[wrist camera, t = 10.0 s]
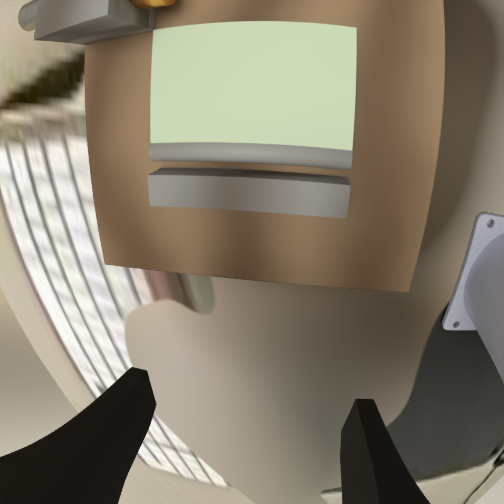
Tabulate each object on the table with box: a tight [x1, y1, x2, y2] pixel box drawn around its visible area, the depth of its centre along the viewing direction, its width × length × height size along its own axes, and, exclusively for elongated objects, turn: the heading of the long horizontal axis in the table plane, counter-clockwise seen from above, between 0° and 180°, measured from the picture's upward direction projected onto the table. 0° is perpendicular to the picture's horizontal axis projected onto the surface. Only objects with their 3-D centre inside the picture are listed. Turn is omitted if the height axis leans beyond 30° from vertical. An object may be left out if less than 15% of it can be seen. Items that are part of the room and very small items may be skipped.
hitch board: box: [34, 0, 445, 292], centre depth 11 cm, size 18×22×5 cm
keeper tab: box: [149, 21, 357, 170], centre depth 13 cm, size 9×6×1 cm
